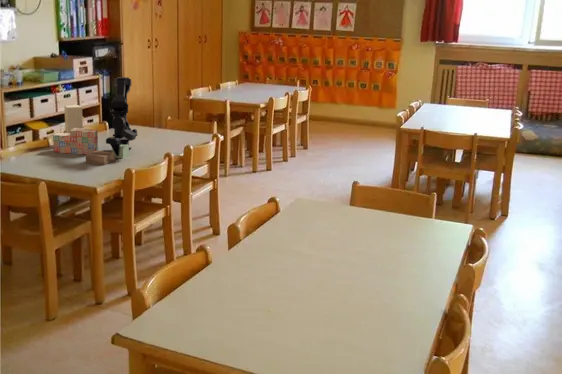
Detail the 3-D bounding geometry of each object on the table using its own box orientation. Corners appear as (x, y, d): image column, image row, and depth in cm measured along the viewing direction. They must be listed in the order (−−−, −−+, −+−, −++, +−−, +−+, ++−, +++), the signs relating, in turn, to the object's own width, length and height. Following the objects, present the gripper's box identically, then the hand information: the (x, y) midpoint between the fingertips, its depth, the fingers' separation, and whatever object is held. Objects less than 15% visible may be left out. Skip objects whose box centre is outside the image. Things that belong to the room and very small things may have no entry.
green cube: (118, 154, 315) (118, 143, 313) (128, 155, 314) (128, 144, 312) (112, 157, 309) (112, 145, 308) (123, 158, 308) (122, 147, 306)
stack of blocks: (53, 152, 312) (52, 129, 309) (58, 149, 318) (57, 126, 315) (94, 155, 312) (93, 131, 308) (98, 152, 318) (97, 129, 314)
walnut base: (96, 158, 306) (96, 150, 305) (114, 160, 304) (114, 152, 303) (86, 162, 297) (85, 154, 296) (104, 165, 294) (104, 157, 293)
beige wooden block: (80, 142, 336) (78, 104, 330) (83, 144, 330) (82, 107, 324) (65, 143, 332) (63, 105, 326) (68, 146, 326) (66, 107, 320)
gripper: (125, 129, 296) (126, 160, 301) (142, 122, 313) (143, 151, 318) (104, 127, 298) (105, 157, 303) (123, 120, 316) (124, 149, 320)
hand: (120, 154), depth 311 cm, fingers closed on green cube, 6 cm apart
